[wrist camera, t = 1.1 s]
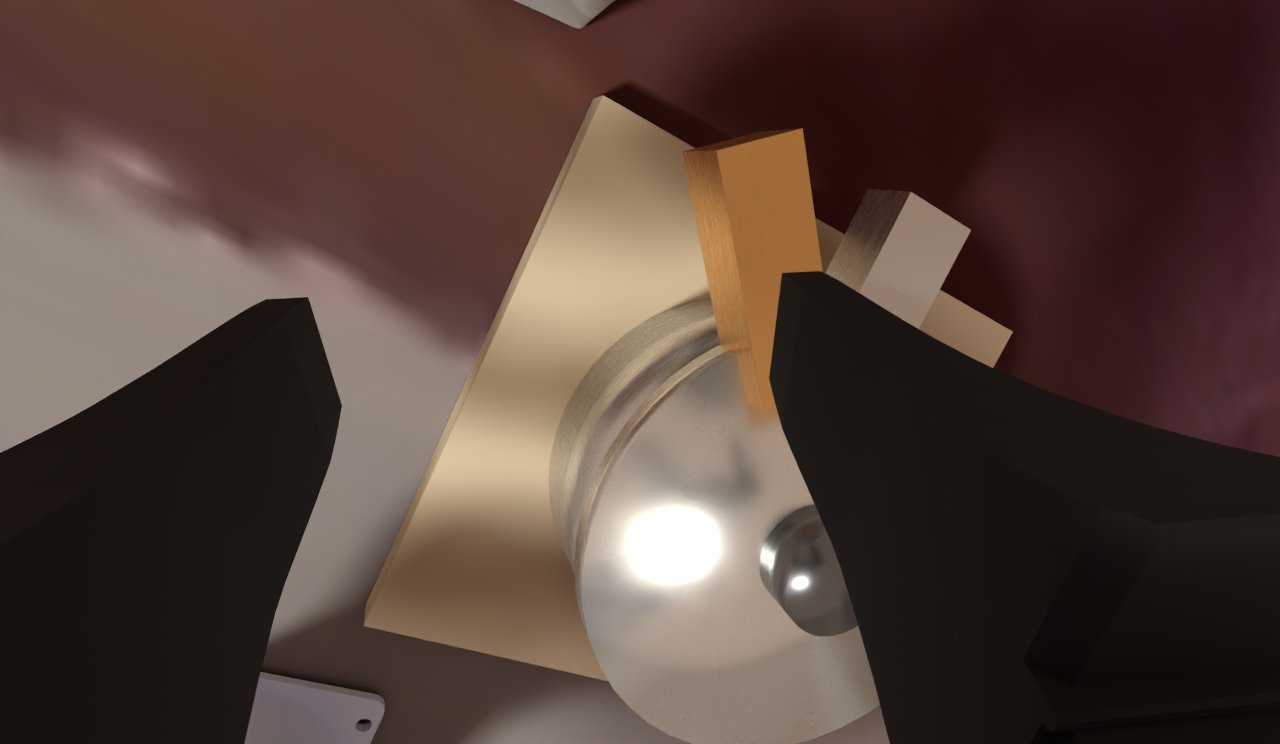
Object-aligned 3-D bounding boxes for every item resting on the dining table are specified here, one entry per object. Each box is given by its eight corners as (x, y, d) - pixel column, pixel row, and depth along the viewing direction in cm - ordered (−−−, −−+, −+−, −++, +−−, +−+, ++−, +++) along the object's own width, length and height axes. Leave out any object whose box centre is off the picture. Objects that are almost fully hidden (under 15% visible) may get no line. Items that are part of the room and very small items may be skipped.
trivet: (784, 704, 31) (798, 724, 30) (365, 604, 24) (363, 625, 23) (989, 325, 29) (1012, 331, 28) (593, 98, 22) (603, 95, 21)
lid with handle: (987, 630, 24) (1048, 679, 22) (634, 790, 21) (661, 866, 19) (948, 83, 18) (1026, 72, 16) (456, 209, 16) (464, 218, 13)
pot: (774, 647, 29) (845, 740, 24) (489, 568, 24) (509, 665, 19) (972, 276, 27) (1090, 299, 22) (703, 113, 22) (782, 101, 17)
